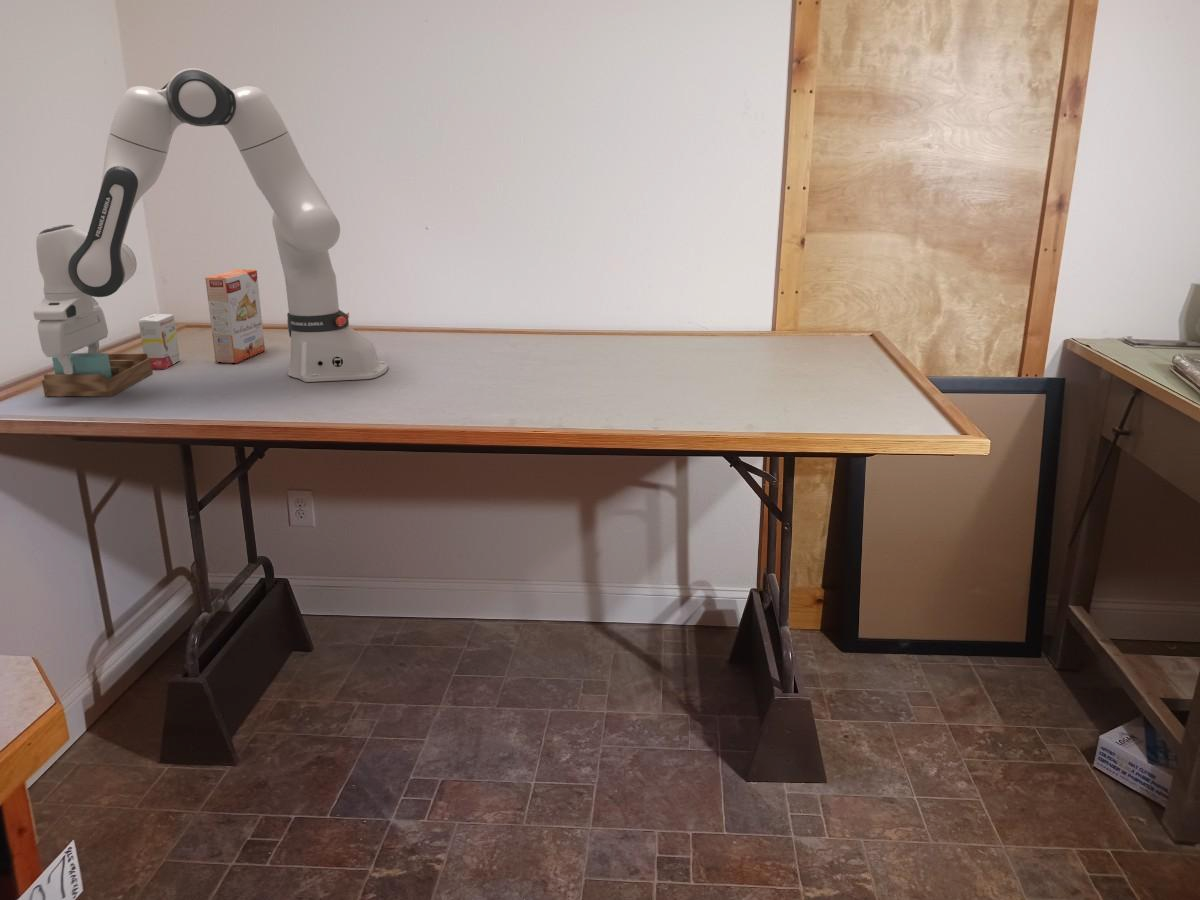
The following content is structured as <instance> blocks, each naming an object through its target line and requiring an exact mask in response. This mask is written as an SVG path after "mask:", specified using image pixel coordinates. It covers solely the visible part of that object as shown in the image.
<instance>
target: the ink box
mask: <svg viewBox="0 0 1200 900" xmlns="http://www.w3.org/2000/svg"><path fill="white" fill-rule="evenodd" d="M138 324H139V332H140V339H141V345H142V346H141V347H142V353H147V356H148V358H150V359H151V365H152V370H166V369H168V368H170V367H172V366H174V365H176V364H177V363H176V362H178V361H180V362H181V357H180V349H179V343H178V336H177V335H178V334H177V328H176V320H175V314H172V313H171V314H169V313H153V314H151V315H148V316H145V317H142V318H140V319H139V320H138ZM175 363H176V364H175ZM178 363H179V362H178ZM173 364H174V365H173ZM171 365H172V366H171ZM169 366H170V367H169ZM167 367H168V368H167Z"/></svg>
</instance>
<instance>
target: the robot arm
mask: <svg viewBox="0 0 1200 900" xmlns="http://www.w3.org/2000/svg"><path fill="white" fill-rule="evenodd" d="M118 103H119V104H118V106H117V108H116V111H115V113H114V116H113V119H112V122H111V124H110V125H111V126H110V129H109V134H108V137H107V143H106V148H105V153H104V163H103V171H102V176H101V185H100V191H99V193H98V197H97V200H96V204H95V207H94V210H93V215H92V218H91V222H90V226H89V228H88V232H87V231H85V230H82V229H81V228H79V227H78V226H77V225H74V224H63V225H58V226H52V227H50V228H46V229H43V230H41V231H40V232H39V233H38V234H37V236H36V243H35V244H36V245H35V246H36V247H35V248H36V256H37V257H36V258H37V263H38V267H39V268H38V269H39V273H40V275H41V276H42V278H43V295H44V298H42V300H41V302H40V303H39V304H38V305H37V306H36V307H35V309H34V310H33V316H34V319H35V320H36V321H38V323H37V332H38V333H37V334H38V338H39V343H40V347H41V351H42V353H43V354H44V355H45V357H47V358H53V357H57V358H58V361H59V362H60V363H61V365H62V366H63V370H64V373H65V374H73V373H75V372H76V369H75V365H72V363H71V361H70V358H71V354H70V353H74V352H77V351H79V350H81V349H83V348H88V349H87V353H99V351H100V341H103V340H104V339H106V338H108V335H109V334H108V333H109V328H108V324H107V320H106V317H105V314H104V311H103V308H102V307H101V306H99V302H98V301H97V300H96V299H95V298H104V297H109V296H111V295H114V294H115V293H116V292H117V291H118V290H119V289H120V288H121V287H122V286H123V285H124V284H125V283H126V282H128V281H129V280H130V279H131V278H132V277H134V274H135V273H136V270H137V259H136V256H135V253H134V252H133V250H132V249H131V248H130V247H129V246H128V245H126V244H125V243H124V239H125V235H126V232H127V229H128V226H129V222H130V218H131V215H132V212H133V210H134V208H135V207H136V205H137V203H138V201H139V200H140V199H141V198H142V197H143V195H145V193H147V192H148V190H150V188H152V187H153V186H154V185H155V184H156V183H157V181H158V180H159V177H160V175H161V173H162V171H163V170H164V169H163V168H164V166H165V164H166V162H167V161H166V160H167V156H168V152H169V149H170V145H171V141H172V138H173V135H174V132H175V131H176V129H177V128H178V127H179V126H181V125H183V124H188V125H191V126H193V127H214V126H223V127H224V128H226V130H227V131H228V132H229V134H230V136H231V137H232V139H233V141H234V143H235V144H236V147H237V149H238V151H239V153H240V155H241V157H242V159H243V161H244V162H245V165H246V166H247V169H248V171H249V173H250V175H251V176H252V178H253V181H254V182H255V184H256V186H257V188H258V189H259V190H260V192H261V194H262V195H263V196H264V198H265V200H267V202H268V204H269V206H270V208H271V209H272V210H273V214H272V219H271V221H272V227H273V230H274V236H275V239H276V240H275V241H276V245H277V246H276V247H277V250H278V255H279V259H280V264H281V267H282V271H283V276H284V280H285V281H284V282H285V289H286V297H287V307H288V312H287V313H286V314H287V315H286V316H287V320H286V321H287V322H286V323H287V329H288V330H287V331H288V335H289V337H290V360H289V366H288V367H289V368H288V372H287V374H288V376H290V377H291V378H295V379H299V380H301V381H303V382H306V383H311V382H313V383H315V382H316V383H317V382H334V381H335V382H336V381H351V380H352V381H354V380H355V381H356V380H358V381H359V380H370V379H374V378H375V379H376V378H378V377H380V376H382V375H383V374H385V373H386V372H387V371H388V369H389V367H388V363H387V361H385V360H379V358H378V354H377V351H376V347H375V345H374V344H373V342H372V341H371V340H370V339H369V338H367V337H365V336H363V335H362V334H360V333H359V332H358V331H356V330H355V329H353V328H352V327H350V326H349V325H350V322H349V319H350V313H349V312H347V313H345V312H344V311H343V310H341V309H340V308H339V297H338V295H339V294H338V287H337V276H336V273H335V271H334V268H333V265H332V262H331V257H330V254H329V250H330V249H332V248H333V247H334V246H335V245H336V244H337V242H338V241H339V239H340V235H341V226H340V222H339V220H338V218H337V216H336V215H335V213H334V212H333V211H332V208H331V207H330V205H329V203H328V201H327V200H326V198H325V196H324V194H323V193H322V191H321V190H320V188H319V186H318V185H317V183H316V181H315V179H314V178H313V177H312V175H311V174H310V172H309V170H308V169H307V167H306V165H305V163H304V161H303V159H302V157H301V155H300V153H299V151H298V149H297V147H296V145H295V143H294V141H293V139H292V136H291V134H290V131H289V130H288V127H287V126H286V124H285V122H284V120H283V119H282V116H281V115H280V113H279V112H278V110H277V108H276V106H275V105H274V104H273V102H272V101H271V99H270V97H268V95H267V94H266V92H265V91H264V90H263V89H261V88H259V87H257V86H252V85H246V86H245V85H243V86H240V87H237V88H233V89H230V88H229V87H227V86H226V85H225V84H223V83H222V82H221V81H220V80H219V79H218V78H217V77H215V76H214V75H213V74H212V73H210V72H208V71H206V70H204V69H202V68H198V67H196V68H195V67H189V68H185V69H181V70H179V71H178V72H176V73H175V74H174V75H173V76H172V78H171V79H170V81H169V82H167V83H166V84H165V85H164V86H163V87H162V88H161V89H157V88H154V87H150V86H145V85H136V86H132V87H129V88H128V89H127V90H126V91H125V92H124V94H123V96H122V97H121V99H120V102H118Z"/></svg>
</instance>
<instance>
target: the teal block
mask: <svg viewBox="0 0 1200 900" xmlns="http://www.w3.org/2000/svg"><path fill="white" fill-rule="evenodd" d="M70 354H71V358H70V361H71V363H72V365H75V369H76V372H75V373H73V374H106V380H107V379H109V378H111V377H112V373H111V368H110V362H109V356H108V353H106V352H104V353H101V352H98V353H88V352H87V353H86V352H84V353H82V352H80V353H79V352H78V353H74V352H72V353H70ZM51 358H52V359H51V360H52V366H53V368H54V374H65V373H64V370H63V366H62V365H61V363H60V362H59V361H58V358H57V357H51Z"/></svg>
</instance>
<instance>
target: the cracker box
mask: <svg viewBox="0 0 1200 900" xmlns="http://www.w3.org/2000/svg"><path fill="white" fill-rule="evenodd" d="M204 279H205V285H206V286H205V287H206V293H207V295H206V296H207V303H208V311H209V318H210V326H211V337H212V342H213V351H214V358H215V363H217V362H221V364H232V363H235V364H238V363H240V362H243V361H245V360H248V359H250V358H253V357H255V356H257V355H259V354H258V353H260V354H262V353H264V352H263V351H265V352H266V350H265V349H266V348H265V346H266V345H265V337H264V329H263V328H264V327H263V319H262V318H263V317H262V310H261V301H260V300H261V299H260V289H259V281H258V270H256V269H245V268H244V269H243V268H242V269H241V268H238V269H234V270H230V271H226V272H221V273H217V274H213V275H209V276H205V278H204ZM261 352H262V353H261ZM256 354H257V355H256ZM254 355H255V356H254ZM252 356H253V357H252ZM249 357H250V358H249ZM247 358H248V359H247ZM244 359H245V360H244Z"/></svg>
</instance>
